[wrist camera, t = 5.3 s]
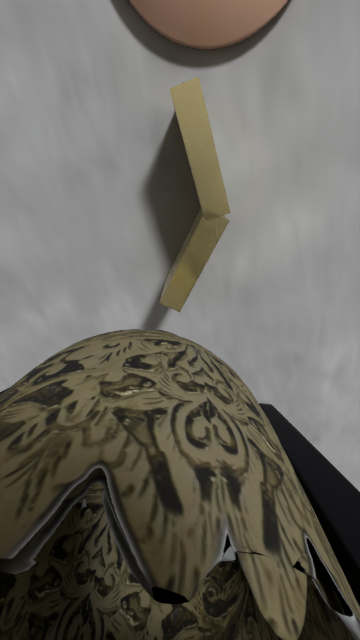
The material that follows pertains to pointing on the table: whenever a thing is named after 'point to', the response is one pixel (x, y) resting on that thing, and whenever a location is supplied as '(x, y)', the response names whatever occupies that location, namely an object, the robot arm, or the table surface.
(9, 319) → the table surface
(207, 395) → the cup
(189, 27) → the peach round disc
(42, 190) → the table surface
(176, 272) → the khaki angled bracket
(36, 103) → the table surface
